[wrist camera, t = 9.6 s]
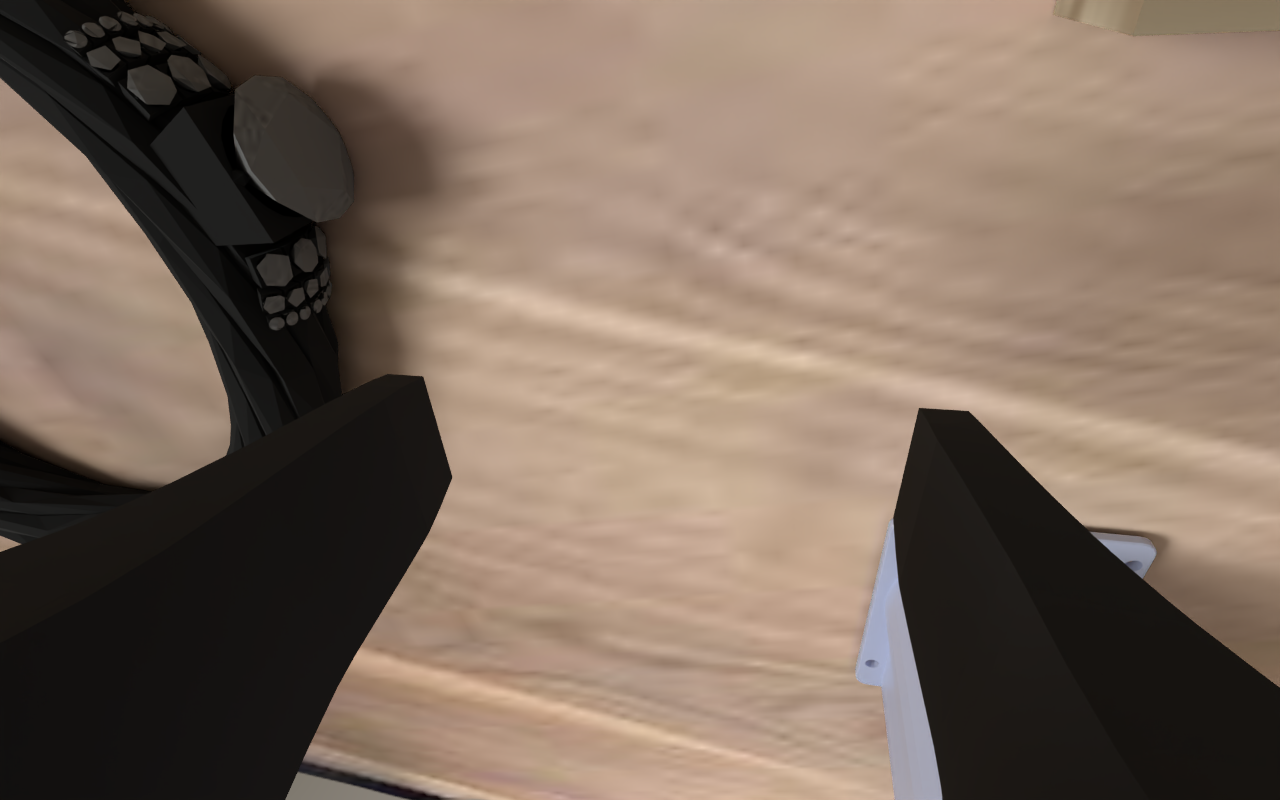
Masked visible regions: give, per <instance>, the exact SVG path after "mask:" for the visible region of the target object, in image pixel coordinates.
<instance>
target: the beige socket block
mask: <svg viewBox="0 0 1280 800" xmlns="http://www.w3.org/2000/svg"><path fill="white" fill-rule="evenodd" d="M1053 15H1056V16H1060V17H1063V18H1067V19H1071V20H1074V21H1078V22H1082V23H1086V24H1089V25H1093V26H1097V27H1101V28H1104V29H1108V30H1112V31H1115V32H1119V33H1123V34H1127V35H1130V36H1147V35H1175V34H1202V33H1229V32H1256V31H1280V0H1057V2H1056V6H1055V9H1054V13H1053Z"/></svg>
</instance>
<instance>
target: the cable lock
mask: <svg viewBox="0 0 1280 800" xmlns="http://www.w3.org/2000/svg"><path fill="white" fill-rule="evenodd" d="M173 35H174V34H173V33H172V31H171V30H170V28H169V27H167V26H166V25H164V24H163V23H161V22H159V21H158V20H157V19H155V18H154V17H151V16H146V17H145V16H143V15H140V14H138V13H134V12H133V11H132V10H131V8H130V7H129V6H128V5H127V4H126V3H125V1H124V0H0V78H1V79H2V80H3V81H4V82H5V83H7V84H8V85H9V86H10V87H11V88H12V89H13V90H14V91H15V92H16V93H17V94H19V95H20V96H21V97H22V98H23V99H24V100H25V101H26V102H27V103H28V104H30V105H31V106H32V107H33V108H34V109H35V110H36V111H37V112H38V113H39V114H40V115H42V116H43V117H44V118H45V119H46V120H47V121H48V122H49V123H50V124H51V125H53V126H54V127H55V128H56V129H57V130H58V131H59V132H60V133H61V134H62V135H63V136H65V137H66V138H67V139H68V140H69V141H70V142H71V143H72V144H73V145H74V146H76V147H77V148H78V149H79V150H80V151H81V152H82V153H83V154H84V155H85V156H86V157H87V158H88V159H89V161H90V162H91V163H92V165H93V166H94V167H95V169H96V170H97V171H98V173H99V174H100V175H101V177H102V178H103V179H104V180H105V182H106V183H107V184H108V186H109V187H110V188H111V190H112V191H113V192H114V194H115V195H116V196H117V197H118V199H119V200H120V201H121V203H122V204H123V205H124V207H125V208H126V209H127V211H128V212H129V213H130V215H131V216H132V217H133V218H134V220H135V221H136V222H137V224H138V225H139V226H140V228H141V229H142V230H143V232H144V233H145V234H146V236H147V237H148V239H149V240H150V242H151V243H152V245H153V246H154V248H155V249H156V251H157V252H158V254H159V255H160V257H161V258H162V260H163V261H164V263H165V264H166V266H167V267H168V269H169V270H170V272H171V273H172V274H173V276H174V277H175V279H176V280H177V282H178V283H179V285H180V286H181V288H182V289H183V291H184V292H185V294H186V295H187V297H188V298H189V300H190V301H191V303H192V305H193V307H194V310H195V312H196V314H197V316H198V319H199V321H200V323H201V325H202V328H203V330H204V332H205V335H206V337H207V339H208V341H209V344H210V347H211V350H212V353H213V355H214V358H215V361H216V364H217V367H218V370H219V373H220V376H221V378H222V381H223V384H224V387H225V390H226V393H227V396H228V404H229V412H230V421H231V437H230V446H229V449H228V452H227V455H229V454H231V453H233V452H235V451H237V450H239V449H241V448H243V447H245V446H247V445H249V444H251V443H253V442H255V441H257V440H258V439H260V438H262V437H264V436H266V435H268V434H270V433H272V432H273V431H275V430H277V429H279V428H281V427H283V426H285V425H287V424H289V423H290V422H292V421H294V420H296V419H298V418H300V417H302V416H304V415H305V414H307V413H309V412H311V411H313V410H315V409H317V408H319V407H321V406H322V405H324V404H326V403H328V402H330V401H332V400H334V399H336V398H338V397H340V396H342V392H341V384H340V377H339V369H338V340H337V338H336V335H335V332H334V329H333V326H332V323H331V320H330V317H329V314H328V312H327V309H326V306H325V305H326V303H327V301H328V299H329V298H330V296H331V290H332V284H331V282H330V280H329V276H330V264H329V258H328V257H327V258H326V255H327V251H326V236H325V235H324V233H323V232H322V231H321V229H320V228H319V227H316V226H314V227H313V229H312V227H311V224H309V223H310V222H312V221H315V222H317V223H318V222H323V221H328V220H333V219H338V218H341V216H342V215H343V214H344V213H345V212H346V210H347V209H348V208H349V207H350V206H351V204H352V203H353V202H354V173H353V169H352V166H351V162H350V159H349V156H348V153H347V150H346V147H345V145H344V143H343V140H342V138H341V136H340V134H339V132H338V131H337V129H336V128H335V126H334V125H333V124H332V122H331V121H330V120H329V118H328V117H327V116H326V115H325V114H324V112H323V111H322V110H321V109H320V108H319V106H318V105H317V104H316V103H315V102H314V101H313V100H312V99H311V98H310V97H309V96H308V95H306V94H305V93H303V92H302V91H301V90H299V89H298V88H296V87H295V86H294V85H292V84H291V83H289V82H288V81H287V80H285V79H284V78H283V77H272V76H258V75H254V76H253V77H252V78H250V79H249V80H247V81H246V82H245V83H243V84H242V85H240V86H239V87H238V88H236V89H235V94H233V95H229V93H228V92H227V91H226V90H225V89H230V88H231V84H230V82H229V79H228V77H227V76H226V75H225V74H224V73H223V72H222V71H221V70H219V69H218V68H217V67H216V66H214V65H213V64H212V63H211V62H210V61H208V60H207V59H205V58H204V57H202V56H200V55H199V54H200V53H201V52H199V51H198V50H197V49H196V48H194V47H193V46H192V45H190V44H189V43H188V42H187V41H185V40H184V39H183V38H181V37H180V36H179V35H177V36H178V38H176V37H175V36H173ZM195 54H198V57H196V55H195ZM227 95H229V96H227ZM307 224H309V225H307ZM305 225H306V226H305ZM323 257H324V258H325V260H324V259H323ZM227 455H226V456H227ZM150 492H151V491H144V490H137V489H130V488H123V487H116V486H109V485H102V484H100V483H98V482H96V481H93V480H91V479H88V478H85V477H83V476H80V475H77V474H75V473H72V472H69V471H67V470H64V469H61V468H59V467H56V466H53V465H50V464H48V463H45V462H42V461H40V460H37V459H34V458H32V457H29V456H26V455H24V454H21V453H20V452H19V451H17V450H16V449H14V448H12V447H11V446H9V445H7V444H6V443H4V442H2V441H1V440H0V536H3V537H5V538H8V539H10V540H13V541H15V542H18V543H20V544H24V543H27V542H30V541H32V540H35V539H38V538H41V537H43V536H46V535H49V534H52V533H54V532H57V531H60V530H62V529H65V528H67V527H70V526H72V525H75V524H77V523H80V522H82V521H85V520H87V519H90V518H92V517H94V516H97V515H99V514H102V513H104V512H106V511H109V510H111V509H114V508H116V507H118V506H121V505H123V504H125V503H128V502H130V501H132V500H135V499H137V498H139V497H141V496H144V495H146V494H148V493H150Z"/></svg>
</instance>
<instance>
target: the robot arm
mask: <svg viewBox="0 0 1280 800" xmlns="http://www.w3.org/2000/svg"><path fill="white" fill-rule="evenodd" d="M451 479H452V474H451V471H450V467H449V464H448V460H447V457H446V454H445V450H444V447H443V443H442V440H441V436H440V433H439V430H438V426H437V423H436V419H435V416H434V412H433V409H432V406H431V402H430V399H429V395H428V392H427V388H426V385H425V381H424V378H423V377H422V376H407V375H391V374H387V375H385V376H382V377H380V378H377V379H375V380H372V381H370V382H368V383H366V384H364V385H362V386H360V387H358V388H355V389H353V390H351V391H349V392H347V393H345V394H344V395H342V396H340V397H338V398H336V399H334V400H332V401H330V402H328V403H326V404H324V405H322V406H321V407H319V408H317V409H315V410H313V411H311V412H309V413H307V414H305V415H304V416H302V417H300V418H298V419H296V420H294V421H292V422H290V423H289V424H287V425H285V426H283V427H281V428H279V429H277V430H275V431H273V432H272V433H270V434H268V435H266V436H264V437H262V438H260V439H258V440H257V441H255V442H253V443H251V444H249V445H247V446H245V447H243V448H241V449H239V450H237V451H235V452H233V453H231V454H229V455H227V456H225V457H223V458H221V459H219V460H217V461H215V462H213V463H211V464H209V465H207V466H205V467H202V468H200V469H198V470H196V471H194V472H192V473H190V474H188V475H186V476H184V477H182V478H180V479H178V480H176V481H174V482H172V483H170V484H168V485H166V486H163V487H161V488H159V489H157V490H155V491H153V492H150V493H148V494H146V495H144V496H141V497H139V498H137V499H135V500H132V501H130V502H128V503H125V504H123V505H121V506H118V507H116V508H114V509H111V510H109V511H106V512H104V513H102V514H99V515H97V516H94V517H92V518H90V519H87V520H85V521H82V522H80V523H77V524H75V525H72V526H70V527H67V528H65V529H62V530H60V531H57V532H54V533H52V534H49V535H46V536H43V537H41V538H38V539H35V540H32V541H30V542H27V543H24V544H21V545H18V546H16V547H13V548H10V549H7V550H5V551H2V552H0V800H285V799H286V797H287V794H288V792H289V790H290V788H291V785H292V783H293V781H294V779H295V776H296V774H297V772H298V770H299V767H300V765H301V763H302V761H303V758H304V756H305V754H306V752H307V749H308V747H309V745H310V743H311V741H312V739H313V737H314V735H315V733H316V731H317V729H318V727H319V724H320V722H321V720H322V718H323V716H324V714H325V712H326V710H327V708H328V706H329V704H330V702H331V699H332V697H333V695H334V693H335V691H336V689H337V687H338V685H339V683H340V682H341V680H342V678H343V676H344V674H345V672H346V671H347V669H348V667H349V665H350V663H351V662H352V660H353V658H354V656H355V655H356V653H357V651H358V650H359V648H360V646H361V645H362V643H363V642H364V640H365V638H366V637H367V635H368V633H369V632H370V630H371V628H372V627H373V625H374V623H375V622H376V620H377V619H378V617H379V615H380V614H381V612H382V610H383V609H384V607H385V605H386V604H387V602H388V600H389V599H390V597H391V596H392V594H393V592H394V591H395V589H396V587H397V586H398V584H399V582H400V581H401V579H402V578H403V576H404V574H405V573H406V571H407V569H408V567H409V566H410V564H411V562H412V561H413V559H414V557H415V556H416V554H417V552H418V551H419V549H420V547H421V546H422V544H423V542H424V540H425V539H426V537H427V535H428V533H429V531H430V529H431V527H432V525H433V523H434V520H435V518H436V516H437V514H438V511H439V509H440V507H441V504H442V502H443V499H444V497H445V494H446V492H447V489H448V487H449V484H450V482H451ZM1156 554H1157V551H1156V549H1155V547H1154V545H1153V543H1152V542H1151V541H1150V540H1149V539H1147V538H1145V537H1140V536H1130V535H1119V534H1109V533H1098V532H1089V531H1088V530H1087V529H1086V528H1085V527H1084V526H1083V525H1082V524H1081V523H1080V522H1079V521H1078V520H1077V519H1075V518H1074V517H1073V516H1072V515H1071V514H1070V513H1069V512H1068V511H1067V510H1066V509H1065V508H1064V507H1063V506H1062V505H1061V504H1060V503H1059V502H1058V501H1057V500H1056V499H1055V498H1054V497H1053V496H1052V495H1051V494H1050V493H1049V492H1048V491H1047V490H1046V489H1045V488H1044V487H1043V486H1042V485H1041V484H1040V483H1039V482H1038V481H1037V480H1036V479H1035V478H1034V477H1033V476H1032V475H1031V474H1030V473H1029V472H1028V471H1027V470H1026V469H1025V468H1024V467H1023V466H1022V465H1021V464H1020V463H1019V462H1018V461H1017V460H1016V459H1015V458H1014V457H1013V456H1012V455H1011V454H1010V453H1009V452H1008V451H1007V450H1006V449H1005V448H1004V447H1003V446H1002V445H1001V444H1000V442H999V441H998V440H997V439H996V438H995V437H994V436H993V435H992V434H991V433H990V432H989V431H988V430H987V429H986V428H985V427H984V426H983V425H982V424H981V423H980V422H979V421H978V420H977V419H976V418H975V417H974V416H973V415H972V414H971V413H970V412H969V411H958V410H942V409H926V408H919V410H918V415H917V419H916V423H915V427H914V432H913V436H912V440H911V445H910V449H909V453H908V457H907V462H906V466H905V470H904V474H903V479H902V483H901V487H900V492H899V496H898V500H897V504H896V509H895V513H894V517H893V519H891V520H890V522H889V524H888V529H887V533H886V537H885V542H884V546H883V550H882V555H881V559H880V563H879V568H878V572H877V576H876V581H875V585H874V589H873V594H872V598H871V602H870V607H869V611H868V616H867V620H866V624H865V629H864V633H863V637H862V642H861V646H860V650H859V655H858V659H857V663H856V668H855V671H856V678H857V680H858V681H860V682H862V683H864V684H868V685H876V686H881V687H882V696H883V704H884V713H885V721H886V730H887V738H888V747H889V755H890V764H891V772H892V781H893V789H894V798H895V800H1280V688H1279V687H1278V686H1277V685H1275V684H1274V683H1273V682H1271V681H1270V680H1269V679H1267V678H1266V677H1265V676H1263V675H1262V674H1261V673H1259V672H1258V671H1257V670H1256V669H1254V668H1253V667H1252V666H1250V665H1249V664H1248V663H1246V662H1245V661H1244V660H1243V659H1241V658H1240V657H1239V656H1237V655H1236V654H1235V653H1233V652H1232V651H1231V650H1230V649H1228V648H1227V647H1226V646H1224V645H1223V644H1222V643H1220V642H1219V641H1218V640H1217V639H1215V638H1214V637H1213V636H1211V635H1210V634H1209V633H1207V632H1206V631H1205V630H1203V629H1202V628H1201V627H1200V626H1198V625H1197V624H1196V623H1195V622H1193V621H1192V620H1191V619H1190V618H1188V617H1187V616H1186V615H1185V614H1184V613H1182V612H1181V611H1180V610H1179V609H1177V608H1176V607H1175V606H1174V605H1172V604H1171V603H1170V602H1169V601H1168V600H1166V599H1165V598H1164V597H1163V596H1162V595H1160V594H1159V593H1158V592H1157V591H1156V590H1155V589H1154V588H1152V587H1151V586H1150V585H1149V584H1148V583H1147V582H1146V581H1144V580H1143V578H1144V576H1145V574H1146V572H1147V571H1148V569H1149V567H1150V566H1151V564H1152V562H1153V560H1154V559H1155V557H1156ZM1129 561H1131V562H1129Z"/></svg>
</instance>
